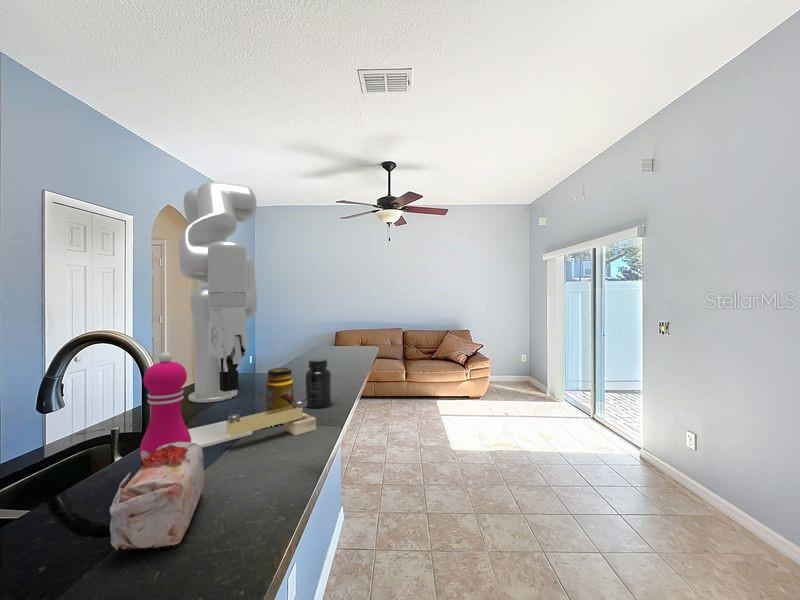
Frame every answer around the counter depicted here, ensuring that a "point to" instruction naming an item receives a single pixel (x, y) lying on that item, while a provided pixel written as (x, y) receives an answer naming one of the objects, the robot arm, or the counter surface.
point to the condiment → (279, 389)
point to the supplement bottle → (318, 384)
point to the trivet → (212, 434)
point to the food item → (158, 498)
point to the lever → (264, 418)
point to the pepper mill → (165, 404)
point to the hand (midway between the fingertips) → (229, 389)
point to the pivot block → (301, 425)
